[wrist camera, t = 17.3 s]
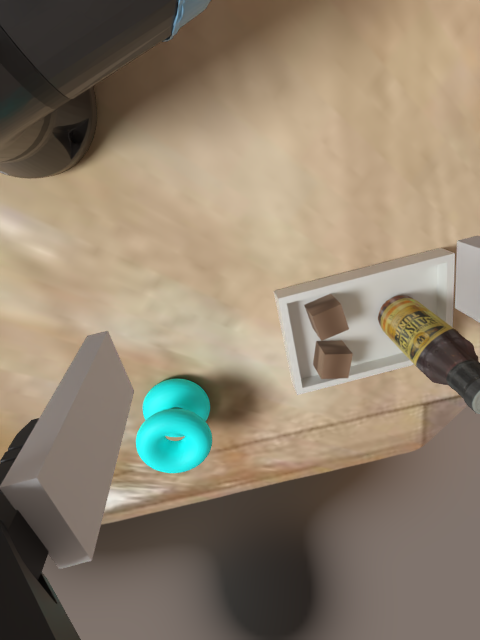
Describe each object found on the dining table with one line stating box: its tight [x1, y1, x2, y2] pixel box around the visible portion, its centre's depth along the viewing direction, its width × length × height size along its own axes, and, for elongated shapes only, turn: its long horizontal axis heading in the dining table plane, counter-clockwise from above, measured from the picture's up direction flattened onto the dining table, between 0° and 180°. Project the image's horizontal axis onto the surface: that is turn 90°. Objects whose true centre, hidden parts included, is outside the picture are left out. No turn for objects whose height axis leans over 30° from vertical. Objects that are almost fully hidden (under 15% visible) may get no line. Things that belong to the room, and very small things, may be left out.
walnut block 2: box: [313, 340, 353, 379], centre depth 53 cm, size 4×4×4 cm
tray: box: [274, 248, 455, 395], centre depth 53 cm, size 24×16×3 cm, turn 103°
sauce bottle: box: [378, 295, 480, 414], centre depth 44 cm, size 6×6×20 cm
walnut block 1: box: [304, 294, 349, 341], centre depth 50 cm, size 4×4×4 cm
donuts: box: [136, 379, 212, 473], centre depth 52 cm, size 10×10×10 cm
